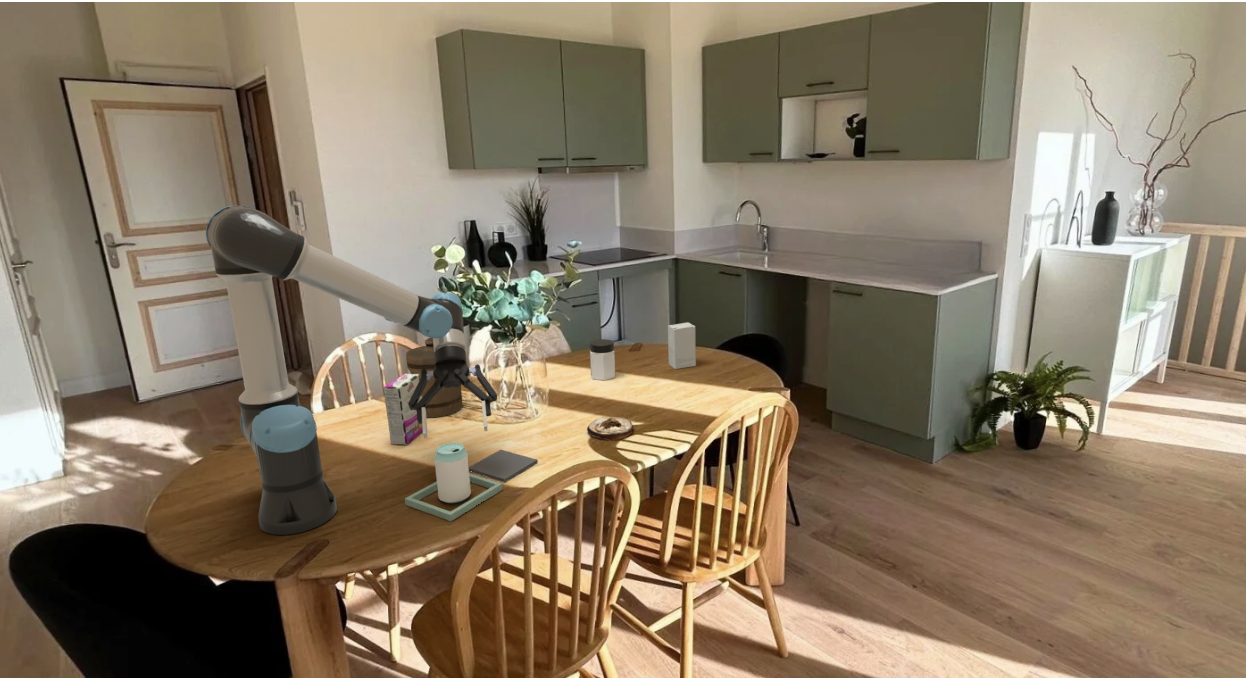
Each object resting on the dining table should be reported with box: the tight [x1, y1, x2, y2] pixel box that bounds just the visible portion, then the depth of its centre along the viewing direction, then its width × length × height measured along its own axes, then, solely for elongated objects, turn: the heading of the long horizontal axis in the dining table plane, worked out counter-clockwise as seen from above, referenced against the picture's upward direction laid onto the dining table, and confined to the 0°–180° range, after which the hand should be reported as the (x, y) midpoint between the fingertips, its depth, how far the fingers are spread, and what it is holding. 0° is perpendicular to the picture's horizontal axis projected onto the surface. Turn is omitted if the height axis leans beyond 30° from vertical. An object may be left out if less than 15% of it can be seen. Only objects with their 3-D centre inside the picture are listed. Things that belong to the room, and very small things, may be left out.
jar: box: [589, 338, 616, 381], centre depth 232 cm, size 9×8×12 cm
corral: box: [404, 473, 504, 522], centre depth 154 cm, size 16×14×2 cm
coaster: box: [468, 449, 539, 483], centre depth 169 cm, size 12×12×1 cm
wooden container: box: [405, 337, 464, 419], centre depth 205 cm, size 15×15×22 cm
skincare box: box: [667, 322, 697, 370], centre depth 241 cm, size 8×6×15 cm
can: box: [433, 442, 472, 504], centre depth 153 cm, size 7×7×12 cm
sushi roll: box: [586, 416, 634, 442], centre depth 188 cm, size 15×15×4 cm
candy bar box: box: [382, 373, 423, 446], centre depth 186 cm, size 11×5×16 cm, turn 168°
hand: (455, 432), depth 159 cm, fingers open, 13 cm apart
